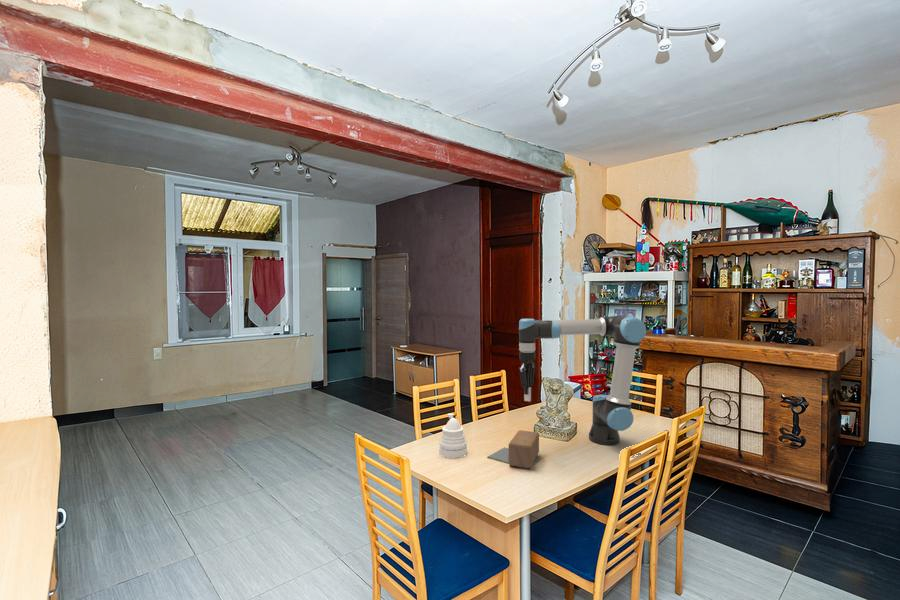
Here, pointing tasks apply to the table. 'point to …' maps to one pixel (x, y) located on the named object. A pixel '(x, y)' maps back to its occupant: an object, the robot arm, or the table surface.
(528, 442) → the wooden block
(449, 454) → the honey pot
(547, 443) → the table surface
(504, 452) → the mat
